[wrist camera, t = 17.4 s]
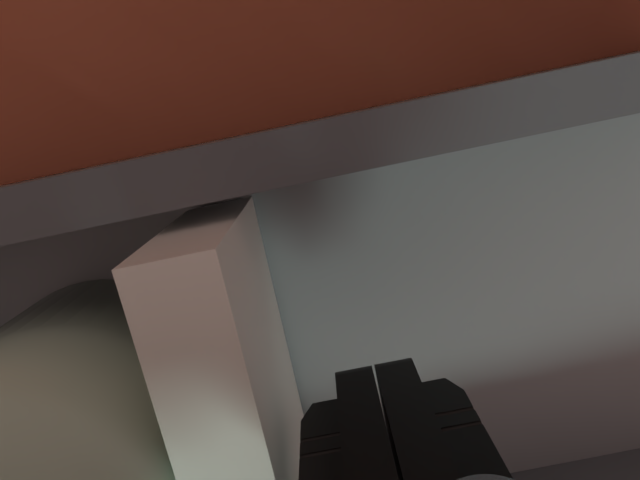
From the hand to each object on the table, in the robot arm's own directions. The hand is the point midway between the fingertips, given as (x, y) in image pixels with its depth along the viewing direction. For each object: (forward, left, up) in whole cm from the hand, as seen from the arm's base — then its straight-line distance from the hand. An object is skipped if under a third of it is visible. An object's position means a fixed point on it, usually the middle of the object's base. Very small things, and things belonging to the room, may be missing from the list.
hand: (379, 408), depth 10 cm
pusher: (0, +3, -3) cm, 4 cm away
